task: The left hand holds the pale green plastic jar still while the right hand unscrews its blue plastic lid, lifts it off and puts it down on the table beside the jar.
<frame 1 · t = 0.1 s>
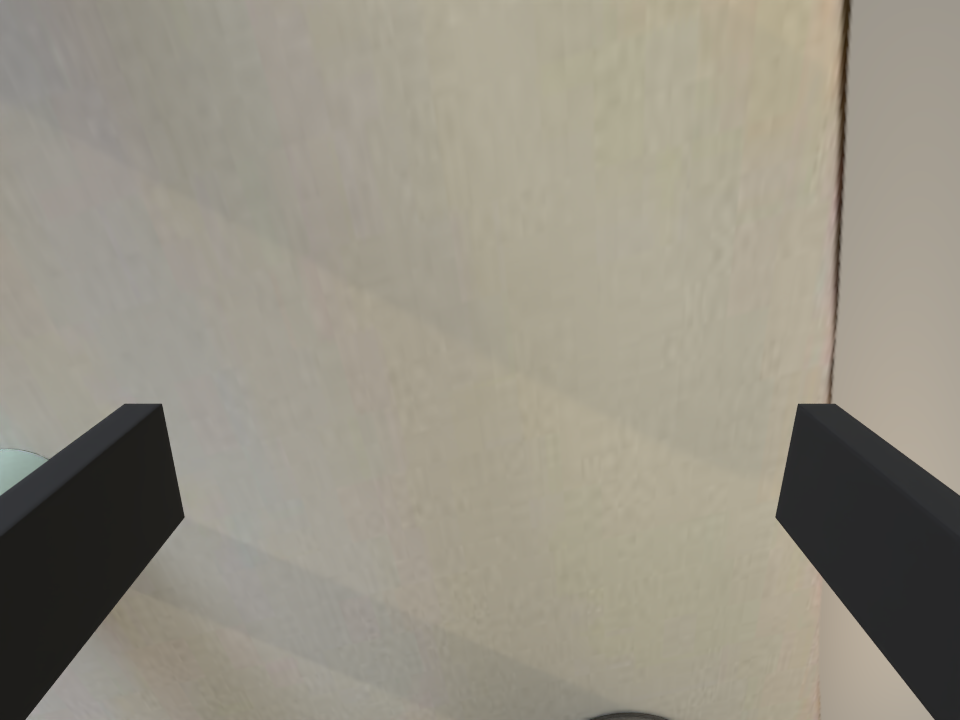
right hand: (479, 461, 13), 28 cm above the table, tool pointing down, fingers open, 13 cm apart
jar: (24, 499, 46), on the table
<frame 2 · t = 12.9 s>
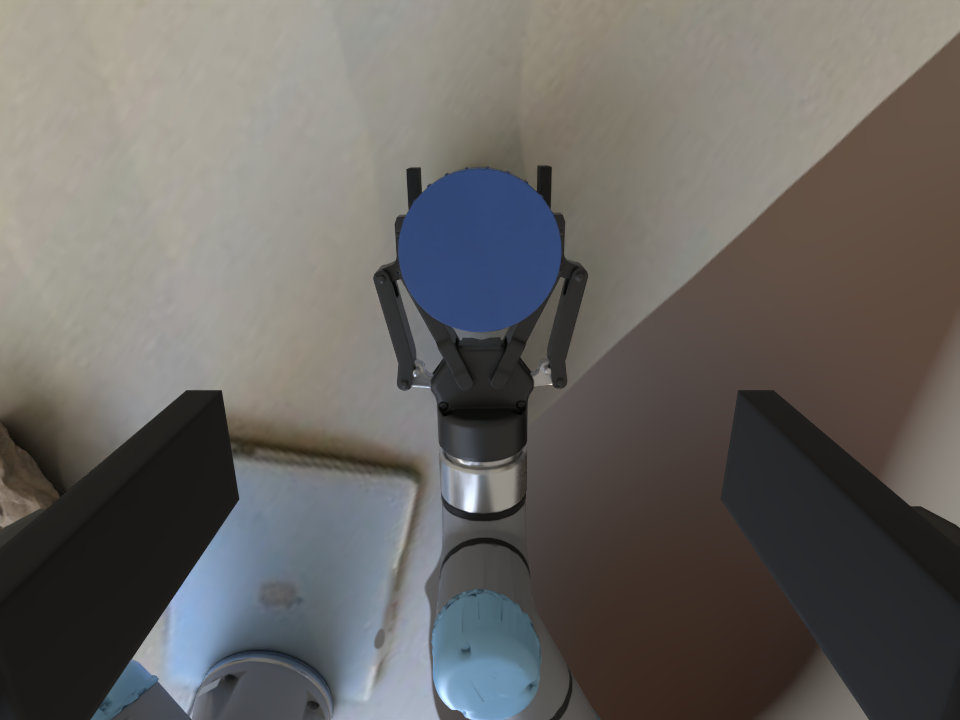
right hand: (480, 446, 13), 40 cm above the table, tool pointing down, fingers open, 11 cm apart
left hand: (478, 167, 43), fingers closed on jar, 9 cm apart
lid: (479, 253, 36), point 16 cm above the table, screwed on, not yet turned
stone: (45, 513, 61), on the table
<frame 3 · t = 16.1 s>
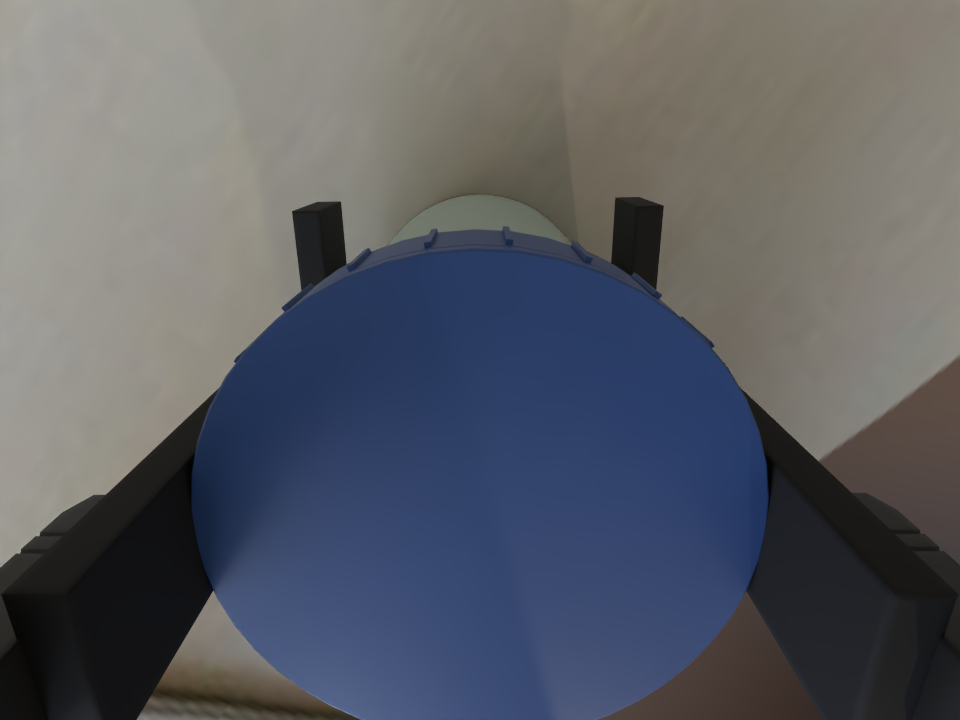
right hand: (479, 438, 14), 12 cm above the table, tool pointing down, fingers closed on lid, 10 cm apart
lid: (479, 523, 11), point 16 cm above the table, screwed on, not yet turned, touching right hand
jar: (480, 301, 25), on the table, touching left hand
when the right hand's fingers open (0 cm above the table, at t = 30.1 s): lid drops 2 cm, point 2 cm above the table.
when the left hand's fingers open (6 cm above the table, at t = 31.2 s): jar stays where it is, on the table.
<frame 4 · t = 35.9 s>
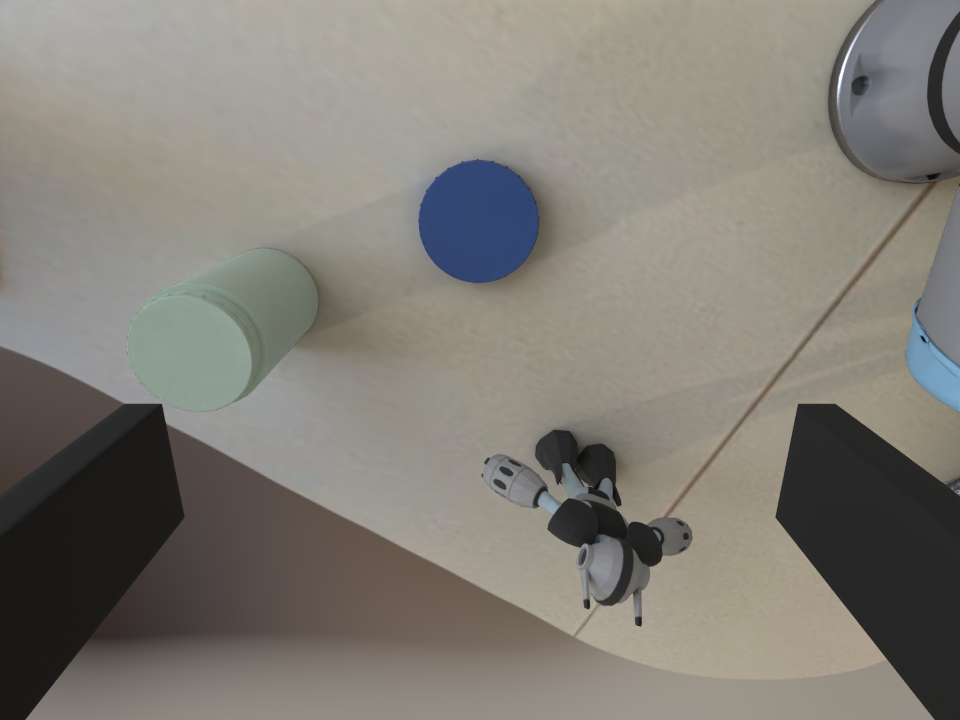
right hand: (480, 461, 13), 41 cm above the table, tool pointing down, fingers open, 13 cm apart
lid: (478, 223, 49), point 2 cm above the table, off its thread
jar: (269, 297, 53), on the table
robot: (575, 454, 59), on the table
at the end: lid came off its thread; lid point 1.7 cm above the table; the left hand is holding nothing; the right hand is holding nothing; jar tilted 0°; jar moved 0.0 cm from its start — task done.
